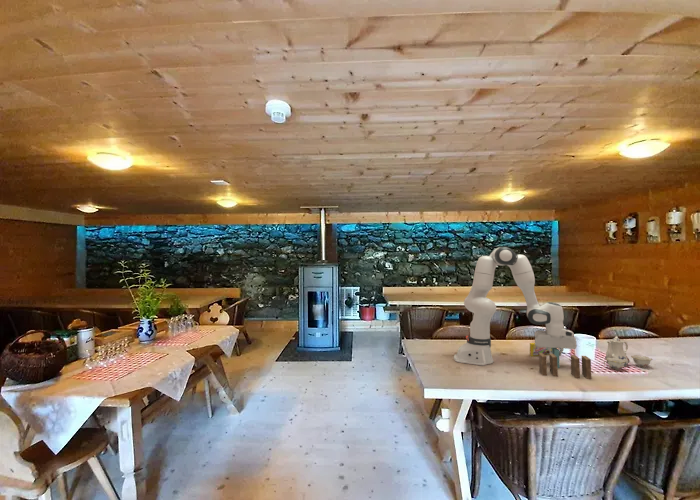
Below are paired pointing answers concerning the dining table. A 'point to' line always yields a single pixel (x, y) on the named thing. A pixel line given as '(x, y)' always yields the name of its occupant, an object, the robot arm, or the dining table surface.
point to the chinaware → (622, 355)
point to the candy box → (538, 350)
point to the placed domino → (556, 353)
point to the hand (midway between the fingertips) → (555, 355)
